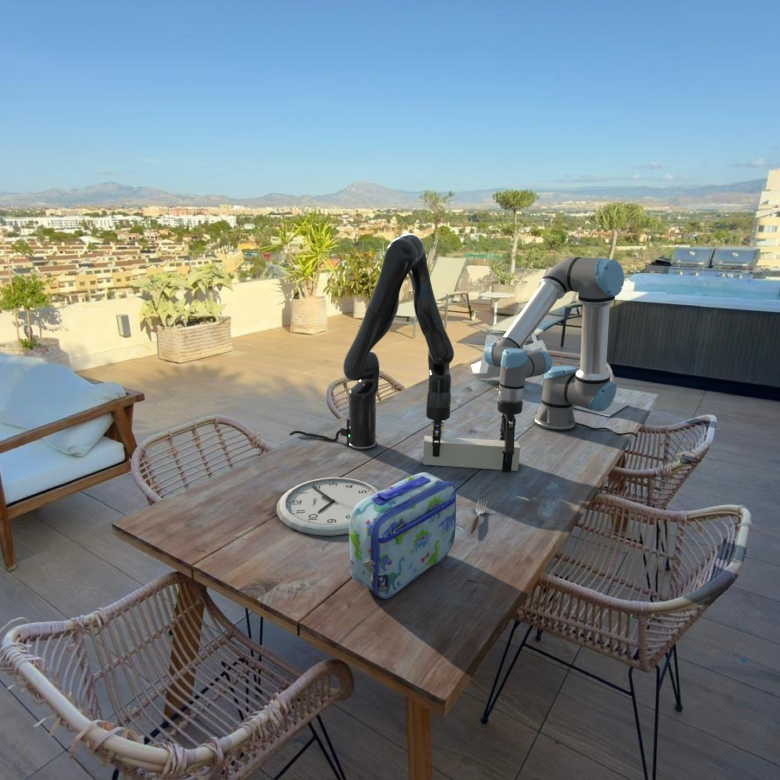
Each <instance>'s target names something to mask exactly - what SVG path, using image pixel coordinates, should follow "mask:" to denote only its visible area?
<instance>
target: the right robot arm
mask: <svg viewBox="0 0 780 780" xmlns="http://www.w3.org/2000/svg"><path fill="white" fill-rule="evenodd" d="M624 283H625V271H624V269H623V266H622V265H621V264H620V262H619V261H618V260H615V259H612V258H611V259H610V258H606V257H586V256H585V257H584V256H583V257H581V256H571V257H568V258H565V259H563V260H562V261H559V262H558V263H557V264H555V265H554V266H553V267H551V268H550V270H548V271H547V272H546V273H545V274H544V276H543V277H542V278H541V279H540V281H539V284H538V286H539V287H538V288H537V290H536V291H535V292H534V294H533V295H532V296H531V298H530V299H529V300H528V302H527V303H526V305H525V306H524V308H522V310H521V311H520V313H519V314H518V315H517V316H516V318H515V319H514V321H513V322H512V324H511V325H510V326H509V328H508V329H507V330H506V331H505V333H504V334H503V335H502V337H501V338H500V339H499V342H498V343H490V344H488V345H487V347H486V348H485V351H484V350H483V351H484V359H485V361H486V362H487V363H488V364H491V365H493V366H495V367H501V372H500V377H499V385H498V386H499V387H498V388H496V391H497V392H498V399H497V409H496V410H497V411H498V412H499V413H500V414H502V415H501V423H500V429H499V432H500V437H499V440H501V441H505V451H502V453H503V465H502V470H501V473H505V474H506V473H507V474H511V473H512V470H511V468H512V457H513V455H514V441H515V436H516V435H515V434H516V424H517V419H516V415H520V414H521V413H522V412H523V405H524V401H523V400H524V397H525V384H526V379H528V378H533V377H537V376H538V377H539V375H542V374H543V377H544V378H543V379H544V382H543V387H542V394H541V402H540V405H539V407H538V410H537V411H535V416H534V424H535V425H536V426H537V427H539V428H542V429H544V430H549V431H556V432H567V431H572V430H574V429H575V428H576V425H577V426H581V427H584V428H586V429H590V430H594V431H601V430H606V431H608V432H611V433H612V434H613V435H617V436H625V435H626V436H627V435H633V436H634V437H636V438H638V437H639V435H638V434H637V433H635V432H633V431H627V432H616V431H614V430H613V429H611V428H609V427H603V426H601V427H592V426H590V425H587V424H584V423H580V422H577V421H576V418H575V417H576V416H575V413H574V407H573V405H574V406H580V407H584V408H587V409H589V410H594V411H598V412H601V411H604V410H605V409H607V408H608V407H609V406H610V404H611V403H612V401H614V400H615V398H616V394H617V389H618V387H617V384H616V382H614V381H613V380H611V372H610V371H609V370H607V357H608V341H609V327H610V326H609V324H610V307H611V304H612V303H613V302H614V301H615V300H616V296H619V294H620V293H621V292H622V290H623V287H624ZM570 292H575V293H577V295H578V296H577V297H578V298H577V300H578V302H579V303H580V304H582V309H581V310H582V313H581V314H582V315H581V337H580V338H581V340H580V361H579V362H580V363H579V365H580V366H579V369H578V368H577V367H576V366H571V365H570V366H569V365H555V366H554V365H553V358H552V356H551V355H550V353H549V352H548V353H547V352H546V351H535V352H532V351H528V350H523V349H522V348H523V346H524V345H525V346H526V344H527V342H528V341H529V339H530V338H532V336H531V335H532V334H533V333H534V332H536V330H537V328H539V326H540V325H541V324H542V322H543V321H544V319H545V317H547V315H548V314H549V312H550V311H551V309H552V308H553V307H554V305H555V304H556V303H557V302H558V300H561V299H563V298H564V297H565V295H566V294H568V293H570ZM552 366H553V367H552Z"/></svg>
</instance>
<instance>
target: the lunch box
mask: <svg viewBox="0 0 780 780" xmlns="http://www.w3.org/2000/svg"><path fill="white" fill-rule="evenodd" d="M456 524H457V489H456V486H455V484H454V483H453V482H452V481H445V480H442V479H440V478H439V477H436V476H434V475H433V474H431V473H429V472H426V471H425V472H424V471H423V472H419V473H416V474H413V475H411V476H409V477H407V478H405V479H403V480H401V481H400V480H399V481H398V482H396V483H395V484H392V485H390V486H388V487H385V488H383V489H382V490H380V492H378V493H376V494H374V495H372V496H370V497H367V498H365V499H363V500H362V501H360V502H359V503H358V504H357V505H356V506H355V507H354V509H353V511H352V513H351V515H350V520H349V534H348V542H349V543H348V544H349V568H350V575H351V577H352V579H353V581H355V582H356V583H359V584H361V585H362V586H364V587H366V588H367V589H369V590H370V591H372V592H373V593H374V595H375V596H377V597H378V598H380V599H384V600H387V599H390V598H392V597H394V596H395V595H396V594H397V593H398V592H400V591H401V590H403V589H404V588H405V587H406V586H407V585H410V584H411V583H412V582H413V581H414V580H416V579H417V578H418V577H419V576H421V575H422V574H423V573H425V571H427V570H428V569H429V568H431V567H433V566H435V565H436V564H438V563H439V562H441V561H442V560H443V559H445V558H446V557H447V556H448V554H449V552H450V551H451V550H452V547H453V545H454V542H455V539H456V538H455V536H456V526H457V525H456Z"/></svg>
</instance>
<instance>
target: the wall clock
mask: <svg viewBox="0 0 780 780" xmlns="http://www.w3.org/2000/svg"><path fill="white" fill-rule="evenodd" d="M380 491H381V490H380V489H379V488H377V487H376V486H374V485H372V484H371V483H369V482H365V481H362V480H359V479H355V478H349V477H338V476H337V477H335V476H333V477H332V476H331V477H322V478H317V479H312V480H307V481H305V482H302V483H299V484H297V485H295V486H293V487H292V488H290V489H288V490H287V491H286V492H285V493H284V494H283V495H281V496H280V498H279V499H278V502H277V503H276V515H277V517H278V518H279V520H280V521H281V522H282V523H283V524H285V525H286V526H287V527H288V528H290V529H293V530H295V531H297V532H299V533H303V534H308V535H312V536H327V537H328V536H329V537H331V536H332V537H333V536H342V535H349V520H350V515H351V513H352V511H353V509H354V507H355V506H356V505H357V504H358V503H359V502H360V501H362V500H363V499H365V498H367V497H370V496H372V495H374V494H376V493H378V492H380Z"/></svg>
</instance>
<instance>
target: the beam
mask: <svg viewBox="0 0 780 780" xmlns="http://www.w3.org/2000/svg"><path fill="white" fill-rule="evenodd" d="M434 442H439V441H434ZM432 443H433V438H432V437H431V435H424V439H423V455H422V456H423V457H422V458H423V460H422V465H425V466H439V467H440V466H441V467H452V468H453V467H455V468H469V469H484V470H499V471H502V465H503V453H502V451H505V441H501V440H500V439H486V438H485V439H484V438H483V439H482V438H467V437H466V438H465V437H451V436H450V437H449V436H442V439H441V441H440V444H441V446H440V455H439V457H433V446H432ZM520 455H521V445H520V442H519V441H517V440H516V441H515V440H514V455H513V457H512V468H511V472H512V471H515V472H518V471H519V463H520Z"/></svg>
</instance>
